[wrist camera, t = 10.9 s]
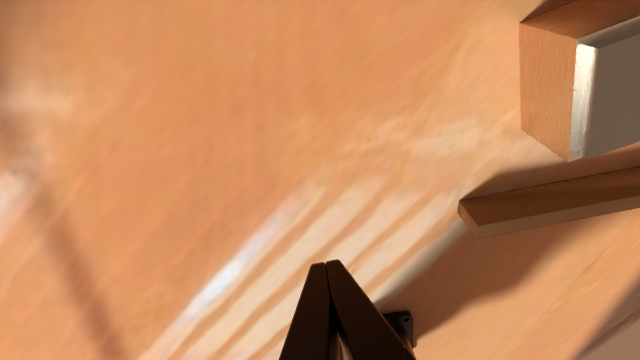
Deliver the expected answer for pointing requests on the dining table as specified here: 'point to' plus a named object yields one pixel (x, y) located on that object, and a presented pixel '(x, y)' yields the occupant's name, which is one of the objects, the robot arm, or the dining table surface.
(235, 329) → the dining table surface
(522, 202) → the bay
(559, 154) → the light grey small box
